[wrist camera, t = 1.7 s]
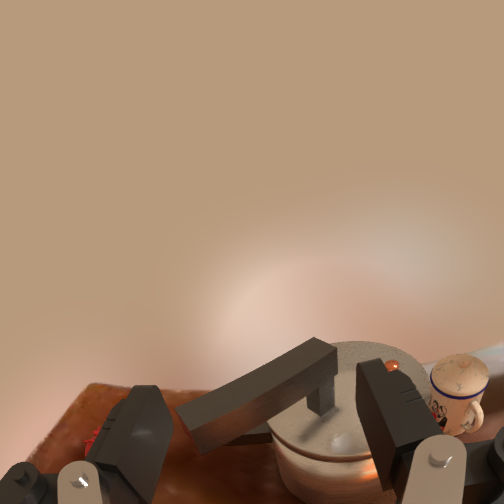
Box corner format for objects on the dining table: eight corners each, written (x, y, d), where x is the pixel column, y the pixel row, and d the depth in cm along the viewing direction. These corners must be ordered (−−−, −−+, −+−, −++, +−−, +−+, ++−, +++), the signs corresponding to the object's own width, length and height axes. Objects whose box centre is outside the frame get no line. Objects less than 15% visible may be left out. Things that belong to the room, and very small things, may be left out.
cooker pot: (387, 401, 41) (393, 342, 38) (425, 486, 24) (451, 430, 21) (226, 427, 43) (208, 372, 40) (215, 522, 25) (183, 477, 22)
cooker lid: (341, 336, 42) (338, 277, 40) (454, 379, 27) (468, 309, 24) (174, 427, 29) (146, 364, 27) (273, 550, 14) (253, 508, 11)
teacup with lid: (412, 408, 38) (422, 349, 35) (458, 391, 37) (472, 332, 34) (441, 461, 26) (465, 404, 23) (492, 436, 26) (518, 376, 23)
